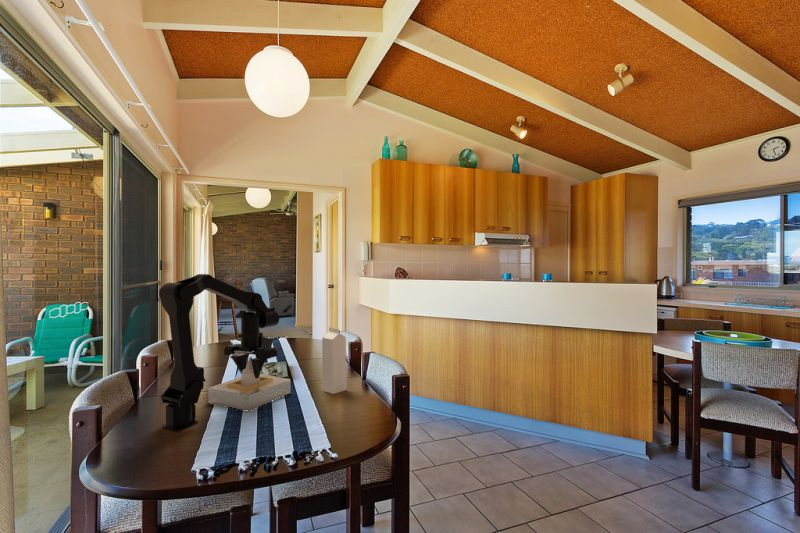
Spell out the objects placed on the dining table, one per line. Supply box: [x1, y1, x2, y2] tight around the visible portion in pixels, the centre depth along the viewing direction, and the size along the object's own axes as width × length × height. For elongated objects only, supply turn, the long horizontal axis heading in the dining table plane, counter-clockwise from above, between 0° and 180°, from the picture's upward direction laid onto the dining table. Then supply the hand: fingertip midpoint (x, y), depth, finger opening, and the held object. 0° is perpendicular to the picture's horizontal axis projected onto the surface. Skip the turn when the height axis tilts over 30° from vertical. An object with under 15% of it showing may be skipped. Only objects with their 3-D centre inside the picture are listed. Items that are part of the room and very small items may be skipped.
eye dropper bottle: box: [240, 356, 261, 386], centre depth 125 cm, size 4×6×12 cm
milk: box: [321, 327, 347, 395], centre depth 133 cm, size 6×6×22 cm
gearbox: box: [207, 374, 292, 412], centre depth 127 cm, size 23×18×6 cm
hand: (250, 377), depth 125 cm, fingers closed on eye dropper bottle, 5 cm apart
